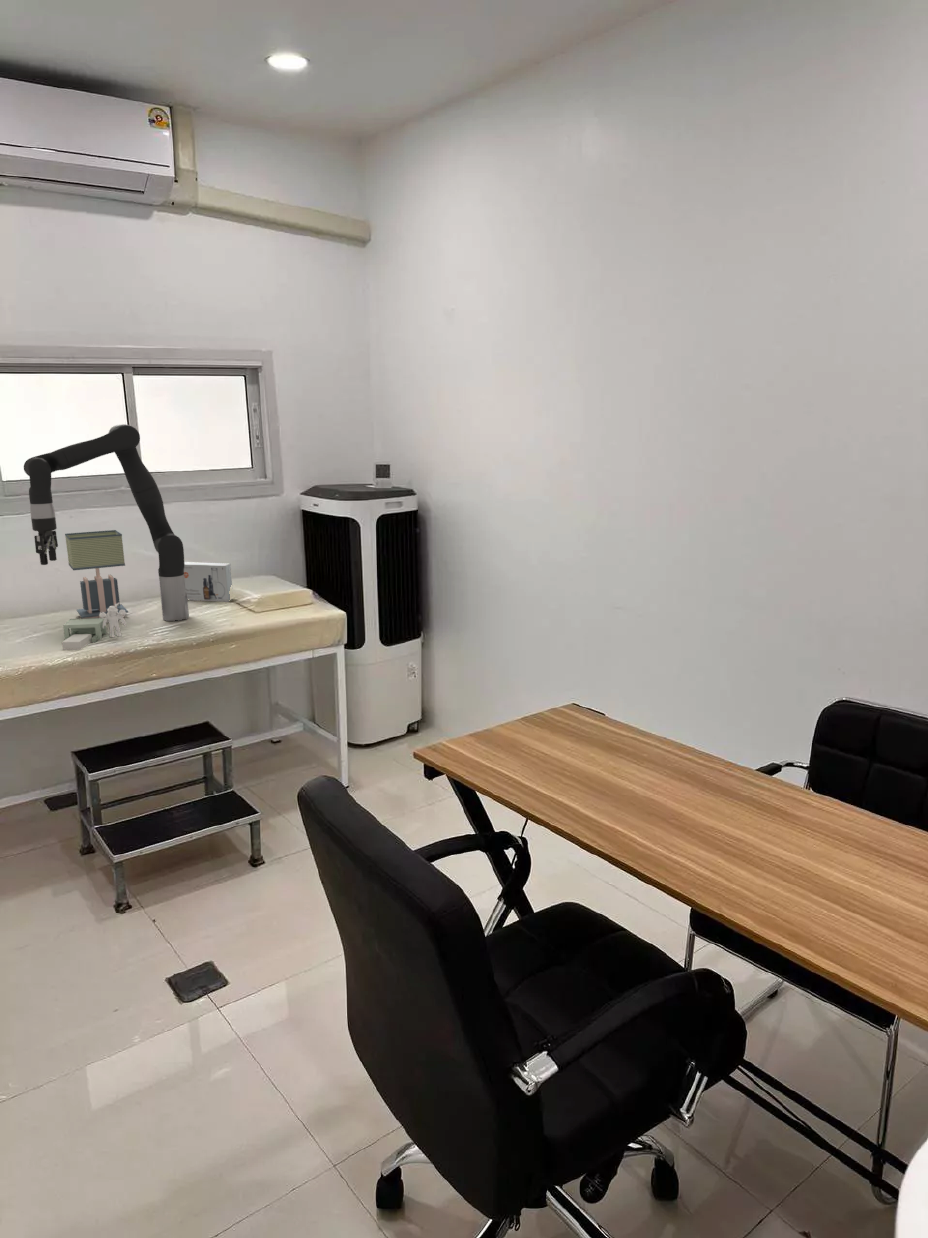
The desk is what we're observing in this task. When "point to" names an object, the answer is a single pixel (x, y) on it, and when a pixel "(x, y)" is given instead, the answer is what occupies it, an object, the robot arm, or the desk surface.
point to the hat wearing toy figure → (113, 619)
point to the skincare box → (207, 581)
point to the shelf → (85, 627)
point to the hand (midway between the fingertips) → (48, 562)
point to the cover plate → (77, 641)
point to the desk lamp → (96, 554)
